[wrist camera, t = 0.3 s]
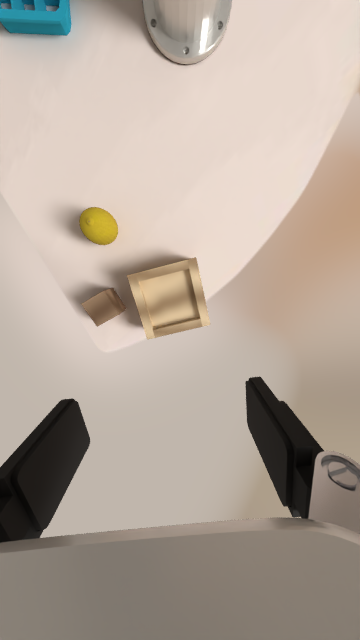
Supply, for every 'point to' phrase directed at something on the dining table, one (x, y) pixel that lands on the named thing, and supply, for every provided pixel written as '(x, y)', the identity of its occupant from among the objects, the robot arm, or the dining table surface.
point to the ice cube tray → (36, 17)
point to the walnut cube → (104, 306)
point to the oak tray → (170, 298)
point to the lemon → (98, 226)
